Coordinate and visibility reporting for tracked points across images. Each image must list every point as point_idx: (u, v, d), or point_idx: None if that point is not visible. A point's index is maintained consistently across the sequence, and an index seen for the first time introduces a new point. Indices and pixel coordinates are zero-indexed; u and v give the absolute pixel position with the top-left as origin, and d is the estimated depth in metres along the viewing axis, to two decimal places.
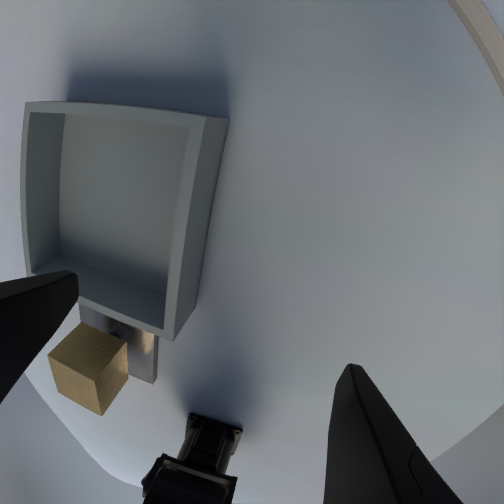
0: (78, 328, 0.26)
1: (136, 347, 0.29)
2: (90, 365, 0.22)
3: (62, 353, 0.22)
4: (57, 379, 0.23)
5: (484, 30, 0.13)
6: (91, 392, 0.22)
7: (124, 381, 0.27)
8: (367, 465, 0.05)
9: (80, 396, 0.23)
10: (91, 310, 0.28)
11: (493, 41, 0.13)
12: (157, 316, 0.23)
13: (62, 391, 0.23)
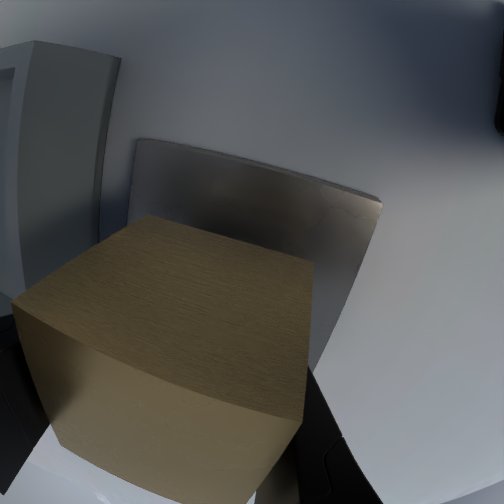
0: None
1: (235, 216, 0.11)
2: None
3: None
4: (151, 486, 0.06)
5: None
6: (91, 371, 0.04)
7: (299, 270, 0.08)
8: (284, 452, 0.05)
9: (180, 455, 0.05)
10: None
11: None
12: None
13: None
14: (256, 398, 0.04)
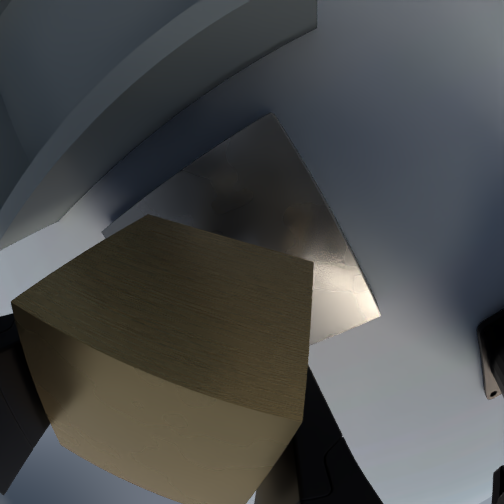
0: None
1: (286, 239, 0.12)
2: None
3: None
4: (151, 486, 0.06)
5: None
6: (91, 371, 0.04)
7: (299, 270, 0.08)
8: (284, 452, 0.05)
9: (180, 454, 0.05)
10: None
11: None
12: None
13: None
14: (256, 398, 0.04)
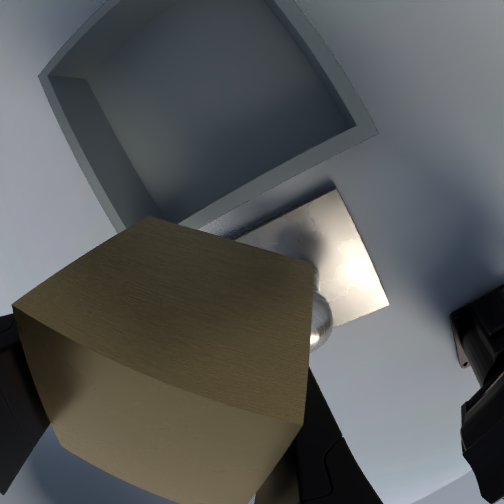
0: None
1: (338, 259, 0.20)
2: None
3: None
4: (152, 488, 0.06)
5: None
6: (93, 374, 0.04)
7: (299, 272, 0.08)
8: None
9: (181, 456, 0.05)
10: None
11: None
12: (336, 134, 0.15)
13: None
14: (257, 400, 0.04)
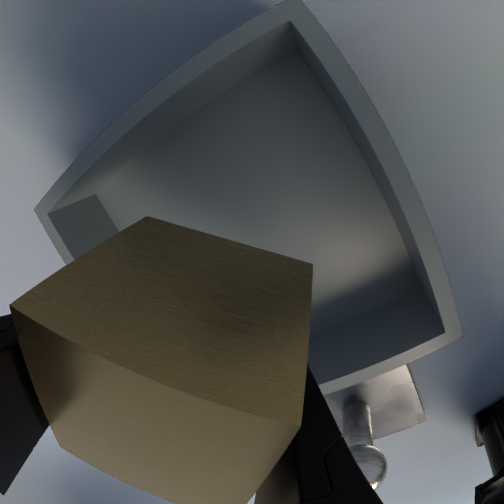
0: None
1: (389, 397, 0.19)
2: None
3: None
4: (151, 488, 0.06)
5: None
6: (90, 375, 0.04)
7: (298, 272, 0.08)
8: (284, 452, 0.05)
9: (179, 457, 0.05)
10: None
11: None
12: (418, 327, 0.13)
13: None
14: (255, 402, 0.04)
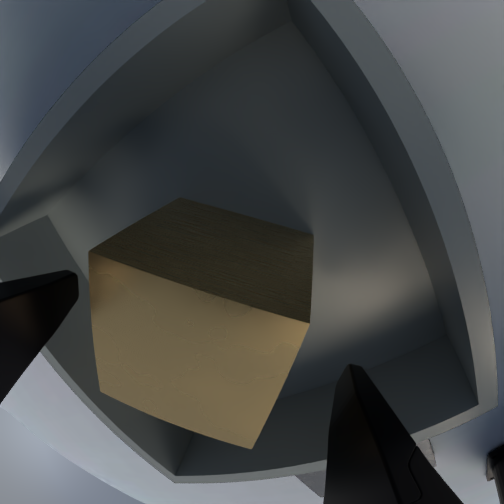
0: None
1: None
2: None
3: None
4: (183, 419, 0.08)
5: None
6: (155, 299, 0.07)
7: (302, 239, 0.11)
8: (367, 465, 0.05)
9: (216, 371, 0.07)
10: None
11: None
12: (444, 393, 0.09)
13: (236, 433, 0.08)
14: (278, 308, 0.07)
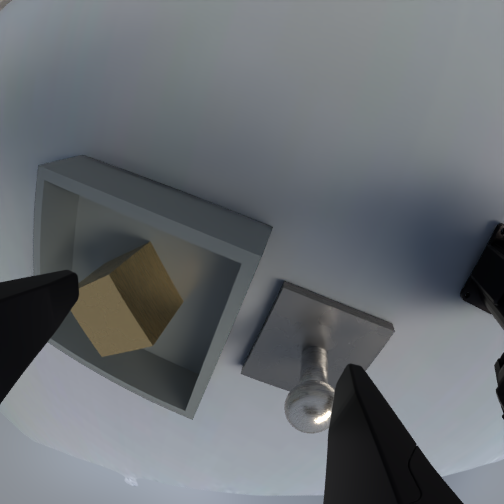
0: None
1: (327, 330, 0.22)
2: None
3: None
4: (124, 346, 0.19)
5: None
6: (81, 297, 0.18)
7: (141, 247, 0.21)
8: (367, 465, 0.05)
9: (109, 311, 0.18)
10: (269, 368, 0.24)
11: None
12: None
13: (140, 338, 0.18)
14: (103, 276, 0.17)
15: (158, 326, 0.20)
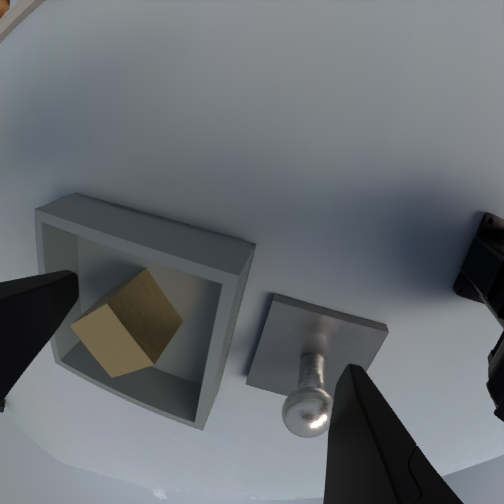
0: None
1: (321, 337, 0.22)
2: None
3: None
4: (130, 366, 0.20)
5: None
6: (86, 325, 0.20)
7: (137, 274, 0.23)
8: (367, 465, 0.05)
9: (112, 335, 0.20)
10: (271, 377, 0.25)
11: (4, 23, 0.17)
12: None
13: (142, 359, 0.20)
14: (103, 305, 0.19)
15: (158, 346, 0.21)
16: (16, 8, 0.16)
